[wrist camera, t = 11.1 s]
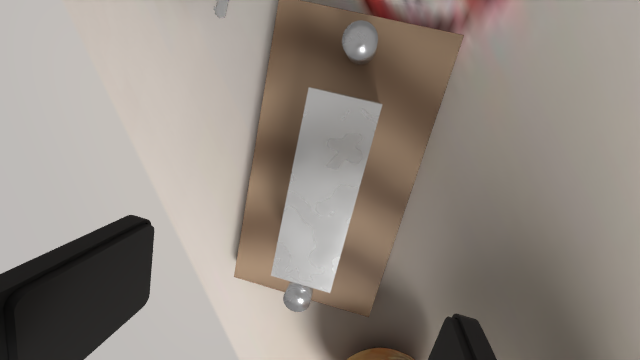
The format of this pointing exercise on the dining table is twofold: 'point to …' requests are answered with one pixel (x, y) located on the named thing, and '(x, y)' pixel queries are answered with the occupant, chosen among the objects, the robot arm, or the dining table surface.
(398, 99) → the peg board
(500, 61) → the dining table surface
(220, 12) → the key chain
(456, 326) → the robot arm
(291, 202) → the silver metal block
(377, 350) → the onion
